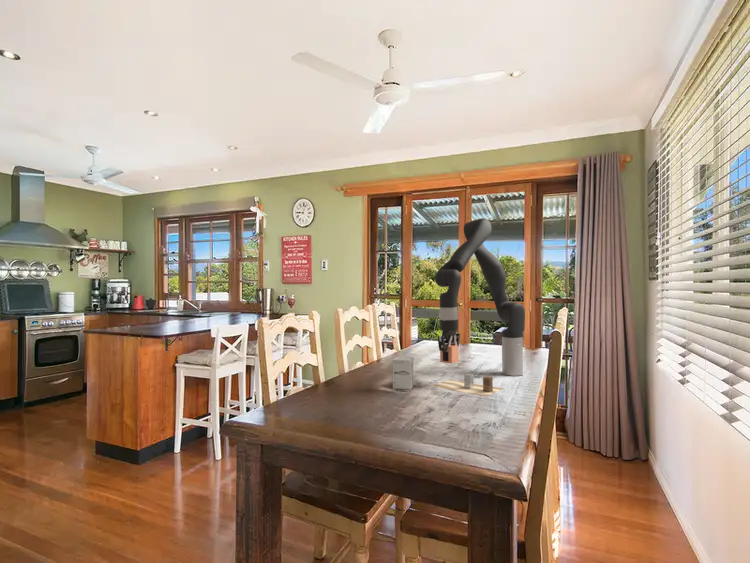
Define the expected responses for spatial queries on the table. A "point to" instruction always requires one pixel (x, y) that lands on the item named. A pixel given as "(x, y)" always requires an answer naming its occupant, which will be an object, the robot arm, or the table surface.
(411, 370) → the supplement box
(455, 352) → the salmon orange block
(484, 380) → the walnut post
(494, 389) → the board
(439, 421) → the table surface
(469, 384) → the steel post
